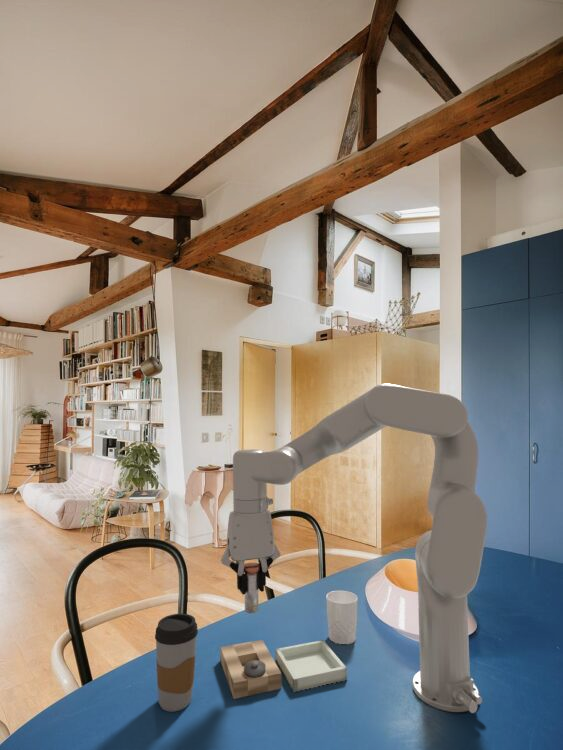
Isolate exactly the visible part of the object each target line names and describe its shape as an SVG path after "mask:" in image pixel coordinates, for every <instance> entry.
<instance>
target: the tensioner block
mask: <svg viewBox="0 0 563 750" xmlns="http://www.w3.org/2000/svg"><path fill="white" fill-rule="evenodd" d="M219 647H220V651H219V652H220V654H219V659H220V660H219V661H220V664H221V667H222V669H223V674H224V675H225V678H226V681H227V684H228V687H229V689H230V692H231V695H232V697H233V699H234V700H236V699H240V698H245V697H249V696H254V695H257V694H262V693H268V692H272V691H276V690H281V689H282V671H281V669H280V667H279V666H278V664H277V662H276V660H275V659H274V658H273V656H272V654H271V653H270V652H271V651H269V649H268V647H267V646H266V644H265V642H264V640H263V639H258V640H252V641H247V642H242V643H236V644H230V645H224V646H219Z"/></svg>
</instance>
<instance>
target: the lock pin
mask: <svg viewBox="0 0 563 750" xmlns="http://www.w3.org/2000/svg"><path fill="white" fill-rule="evenodd" d="M259 571H260V564H259V563H257V562H247V563H244V574H245V576H246V594H244V612H245V613H247V614H256V613H258V612H259V611H260V610H259V609H260V608H259V588H258V572H259Z"/></svg>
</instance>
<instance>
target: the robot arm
mask: <svg viewBox="0 0 563 750" xmlns="http://www.w3.org/2000/svg"><path fill="white" fill-rule="evenodd" d="M468 415H469V414H468V410H467V408H466V406H465V404H464V403H463V402H462V401H461V400H460V399H458V398H457V397H456V396H454V395H451V394H447V393H443V392H442V393H441V392H435V391H429V390H424V389H418V388H412V387H407V386H402V385H399V384H392V383H380V384H377V385H376V386H374V387H373V388H371V389H370V390H368V391H366V392H365V393H363V394H362V395H360V396H358V397H356V398H355V399H353V400H351V401H350V402H349V403H347V404H345V405H344V406H341V407H340V408H338V409H337V410H335V411H333V412H332V413H330V414H329V415H326V417H324V418H323V419H321V420H320V421H319V422H318V423H317V424H316V425H315V426H313V427H312V428H311V429H309V430H308V431H306V432H305V433H303V434H300V436H298V437H296V438H295V439H293V440H291V441H290V442H288V443H287V444H285V445H283V446H281V447H279V448H278V449H276V450H271V451H264V450H261V449H241V450H240V449H239V450H237V451H235V452H234V454H233V457H232V480H233V481H232V486H233V487H232V489H233V496H232V497H233V501H232V502H233V503H232V504H233V511H230V512H229V515H228V520H227V521H228V523H227V534H226V535H227V536H226V549H225V551H224V553H223V555H222V557H221V558H220V562H221V564H222V565H224V566H226V567H228V568H230V569H232V571H233V572H235V573H236V587H237V588H236V589H237V590H238V591H240V593H241V594H242V596H245V594H246V576H245V572H244V564H245V562H246V561H253V560H258V561H257V562H258V564H260V571H259V572H258V591H260V592H264V591H265V586H266V584H267V571H268V569H269V568H270V567H271V565H272V563H273V562H275V561H276V560H277V559H279V558H280V556H281V552H280V550H279V548H278V547H277V546H276V544H275V536H274V535H275V534H274V527H273V526H274V525H273V520H272V515H271V511H270V509H269V506H270V505H271V506H272V505H273V504H274V499H273V498H269V497H268V496H267V495H268V490H267V489H268V486H267V484H270V485H277V486H285V485H287V484H289V483H291V482H293V481H294V480H295V478H296V477H297V476H298V475H299V474H301V473H303V472H305V471H306V470H308V469H309V468H310V467H311V468H312V466H314V465H316V464H317V463H319V462H321V461H323V460H324V459H327V458H329V457H331V456H333V455H337V454H341V453H343V452H346V451H348V450H349V449H351V448H353V447H354V446H356V445H358V444H359V443H361V442H363V441H364V440H366V439H367V438H369V437H371V436H372V435H374V434H376V433H377V432H378V433H379V431H381V430H383V429H384V428H386V427H389V428H393V429H394V428H395V429H397V430H398V429H400V430H403V431H406V432H407V431H409V432H412V433H417V434H419V433H420V434H424V435H429V436H430V437H431V438H432V441H433V445H434V460H433V468H432V475H431V479H430V480H431V481H430V484H429V485H430V486H429V491H428V495H427V500H426V507H427V511H428V513H429V516H430V517H431V519H432V523H431V524H432V525H431V530H427V531H425V533H423V534H422V535H420V537H419V539H418V541H417V542H416V546H415V552H414V553H415V557H414V558H415V568H416V579H417V580H416V582H417V598H418V609H417V610H418V634H419V635H418V639H419V641H418V642H419V643H418V645H419V671H417V673H415V674H414V675H413V678H412V688H413V691H414V693H415V694H416V696H417V697H418V698H419V699H420V700H422V702H424V703H425V704H427V705H429V706H431V707H433V708H435V709H438V710H441V711H444V712H450V713H464V712H469V713H471V714H475V713H476V712H477V710H478V707H479V706H478V705H481V704H482V703H483V698H482V696H480V692H479V689H478V687H477V686H476V684H475V683H474V679H473V678H472V677H471V675H470V674H471V673H470V672H471V671H470V670H471V669H470V645H469V616H468V615H469V610H468V595H469V594H470V593H471V592H472V591H473V590H474V588H475V587H476V585H477V581H478V579H479V575H480V571H481V567H482V566H481V565H482V559H483V553H484V548H485V541H486V534H487V529H488V528H487V527H488V526H487V525H488V516H487V510H486V506H485V504H484V502H483V501H482V499H481V498H480V496H479V495H478V494H477V493H476V481H477V475H478V474H477V473H478V464H479V445H478V441H477V439H476V438H477V437H476V435H475V433H474V430H473V427H472V426H471V424H470V423H469V422H468V419H469V416H468Z"/></svg>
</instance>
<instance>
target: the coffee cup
mask: <svg viewBox="0 0 563 750" xmlns="http://www.w3.org/2000/svg"><path fill="white" fill-rule="evenodd" d="M198 633H199V631H198V623H197V622H196V618H195V617H194V616H193V615H192V614H188V613H173V614H169V615H166V616H164V617H162V618H161V619H160V620H158V623H157V626H156V628H155V634H154V639H155V645H156V661H155V662H156V677H157V679H156V680H157V681H156V683H157V689H158V690H157V692H158V704H159V706H160V708H161V709H162V710H164V711H166V712H178V711H181V710H184V709H185V708H187V707H189V704H190V703H191V701H192V698H193V692H194V691H193V690H194V685H193V684H194V680H195V670H196V669H195V667H196V651H197V648H196V647H197V637H198V636H197V635H198Z"/></svg>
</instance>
